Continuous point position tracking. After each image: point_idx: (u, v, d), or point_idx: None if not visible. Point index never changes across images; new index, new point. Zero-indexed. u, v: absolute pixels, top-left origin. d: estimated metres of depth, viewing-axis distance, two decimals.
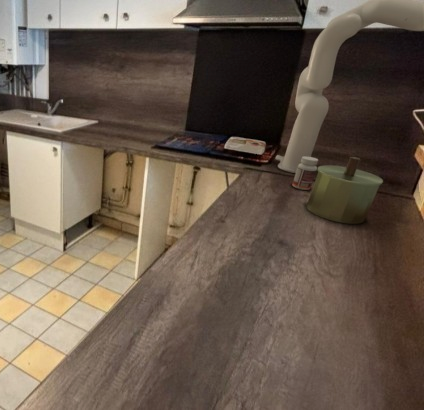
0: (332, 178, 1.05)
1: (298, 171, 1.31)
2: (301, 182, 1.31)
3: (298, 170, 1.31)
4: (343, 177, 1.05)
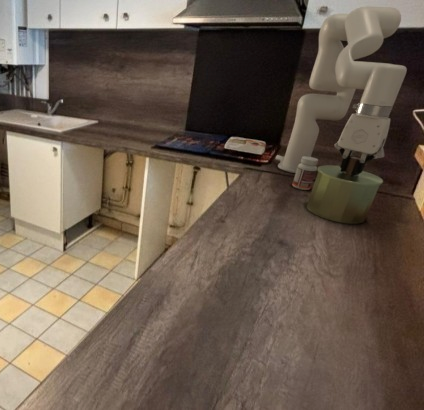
0: (332, 178, 1.05)
1: (298, 171, 1.31)
2: (301, 182, 1.31)
3: (298, 170, 1.31)
4: (343, 177, 1.05)
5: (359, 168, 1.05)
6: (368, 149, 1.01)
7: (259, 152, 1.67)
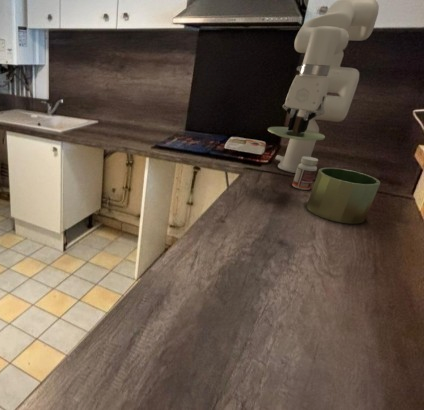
0: (278, 135, 1.14)
1: (298, 171, 1.31)
2: (301, 182, 1.31)
3: (298, 170, 1.31)
4: (288, 134, 1.13)
5: (303, 125, 1.14)
6: (309, 106, 1.10)
7: (259, 152, 1.67)
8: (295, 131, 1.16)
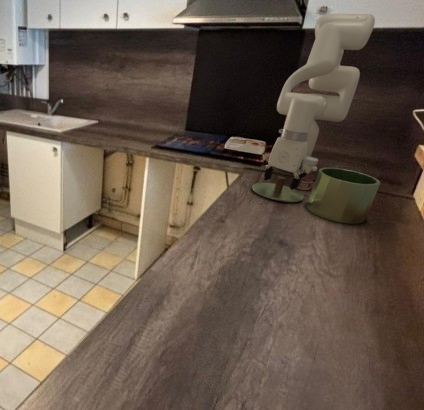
0: (261, 195, 1.22)
1: None
2: (301, 182, 1.31)
3: None
4: (270, 194, 1.22)
5: (295, 183, 1.20)
6: (290, 168, 1.18)
7: (259, 152, 1.67)
8: (277, 190, 1.25)
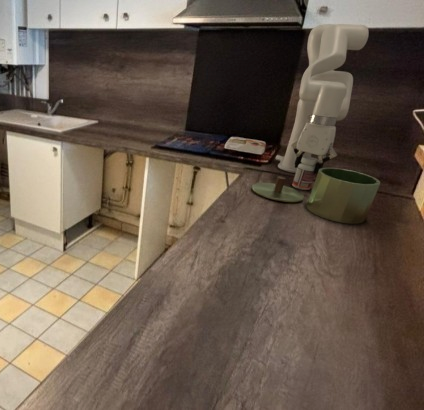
0: (261, 195, 1.22)
1: (298, 171, 1.31)
2: (301, 182, 1.31)
3: (298, 170, 1.31)
4: (270, 194, 1.22)
5: (318, 167, 1.27)
6: (319, 152, 1.24)
7: (259, 152, 1.67)
8: (277, 190, 1.25)
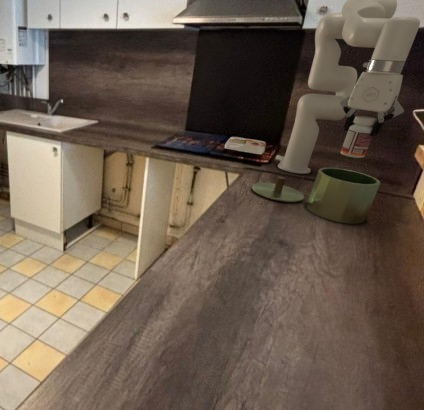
0: (261, 195, 1.22)
1: (350, 134, 1.05)
2: (353, 148, 1.05)
3: (350, 133, 1.05)
4: (270, 194, 1.22)
5: (377, 128, 1.01)
6: (379, 107, 0.98)
7: (259, 152, 1.67)
8: (277, 190, 1.25)
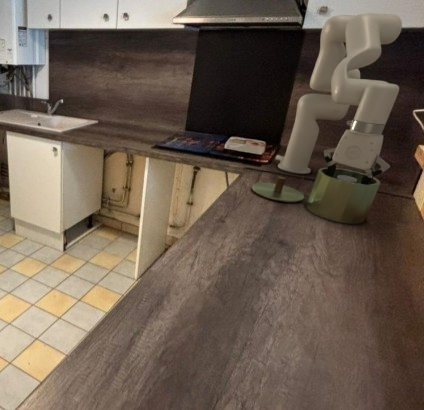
0: (261, 195, 1.22)
1: None
2: None
3: None
4: (270, 194, 1.22)
5: (366, 182, 1.04)
6: (361, 165, 1.03)
7: (259, 152, 1.67)
8: (277, 190, 1.25)
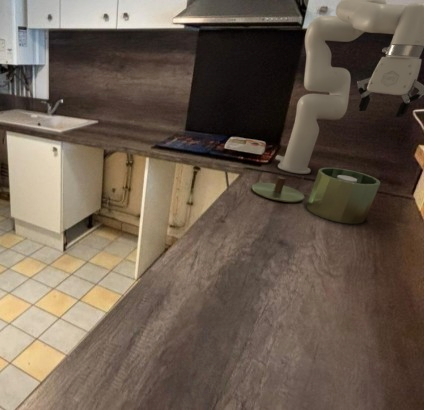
0: (261, 195, 1.22)
1: None
2: None
3: None
4: (270, 194, 1.22)
5: (403, 109, 1.03)
6: (399, 90, 1.02)
7: (259, 152, 1.67)
8: (277, 190, 1.25)
